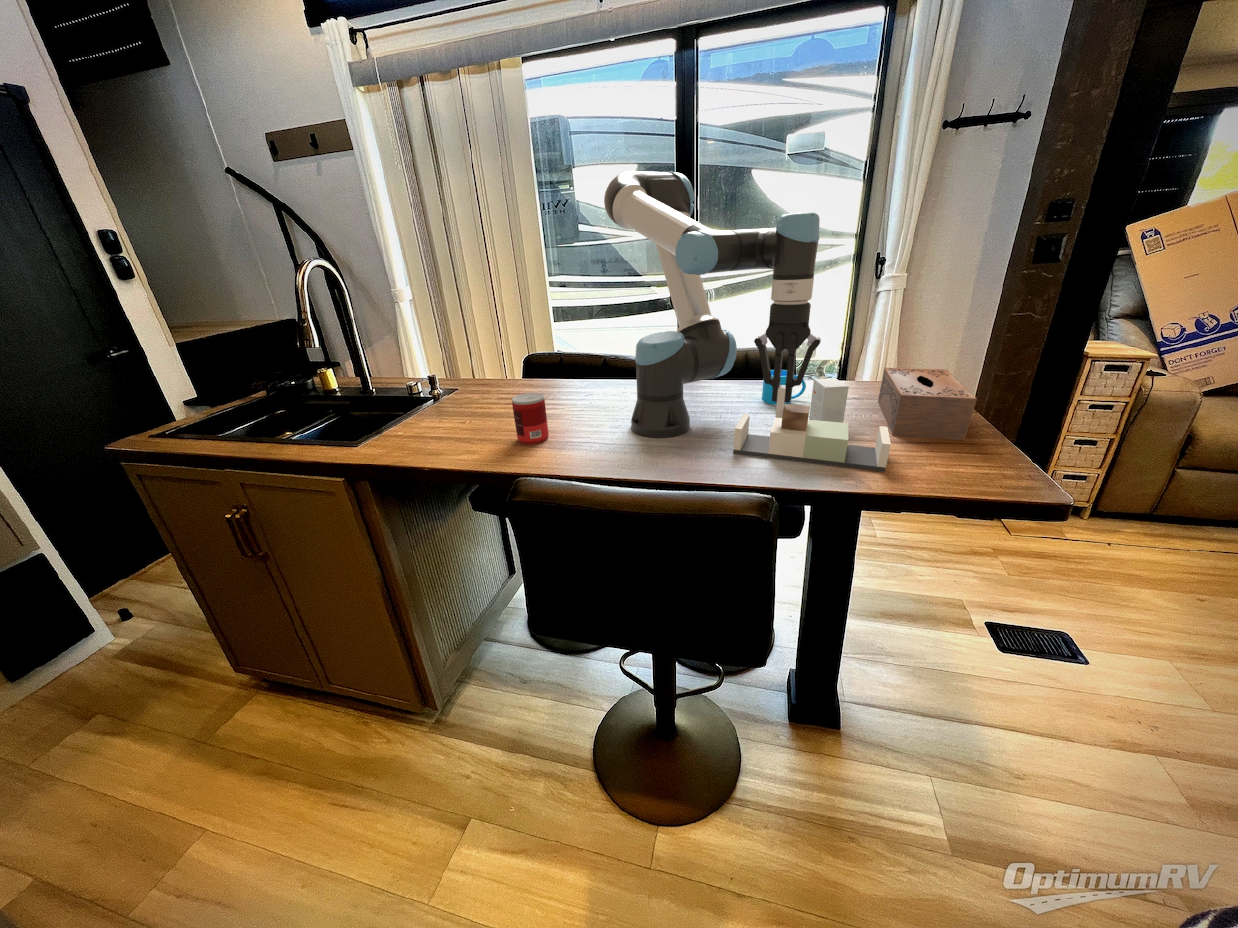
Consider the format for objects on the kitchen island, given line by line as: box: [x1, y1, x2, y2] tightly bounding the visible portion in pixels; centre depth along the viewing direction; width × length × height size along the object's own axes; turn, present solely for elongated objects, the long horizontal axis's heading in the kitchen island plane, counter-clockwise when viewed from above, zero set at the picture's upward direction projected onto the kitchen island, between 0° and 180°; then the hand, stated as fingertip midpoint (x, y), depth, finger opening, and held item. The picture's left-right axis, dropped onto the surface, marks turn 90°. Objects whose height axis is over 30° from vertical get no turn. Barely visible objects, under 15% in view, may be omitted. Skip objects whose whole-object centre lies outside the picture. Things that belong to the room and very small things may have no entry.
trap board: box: [733, 413, 892, 473], centre depth 102 cm, size 30×10×6 cm, turn 66°
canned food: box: [511, 392, 549, 446], centre depth 116 cm, size 8×8×11 cm
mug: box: [761, 369, 807, 405], centre depth 135 cm, size 12×8×8 cm
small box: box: [808, 377, 850, 423], centre depth 117 cm, size 8×6×10 cm
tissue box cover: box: [877, 367, 977, 441], centre depth 117 cm, size 26×14×10 cm, turn 160°
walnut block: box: [781, 403, 811, 431], centre depth 101 cm, size 5×5×4 cm
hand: (779, 415), depth 102 cm, fingers closed
